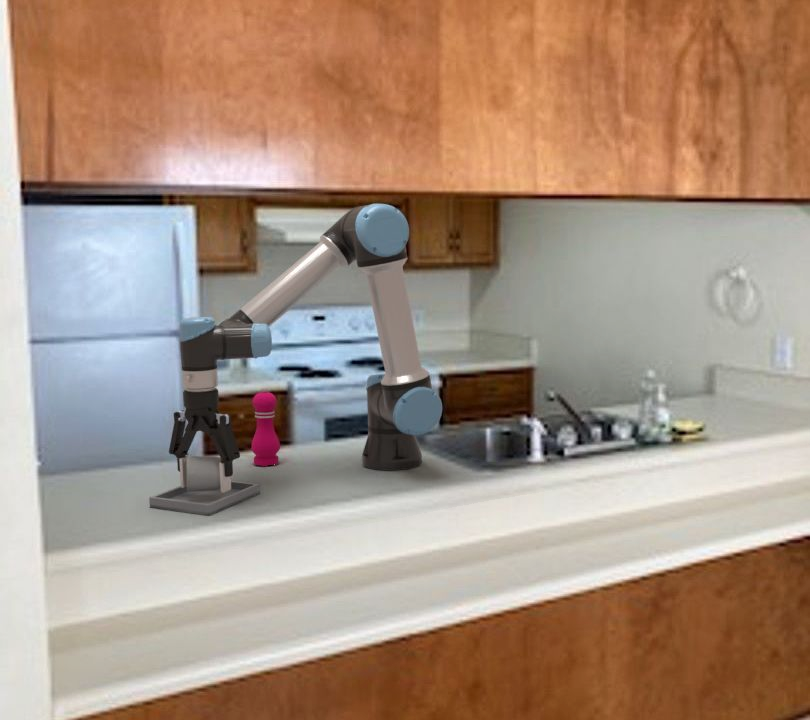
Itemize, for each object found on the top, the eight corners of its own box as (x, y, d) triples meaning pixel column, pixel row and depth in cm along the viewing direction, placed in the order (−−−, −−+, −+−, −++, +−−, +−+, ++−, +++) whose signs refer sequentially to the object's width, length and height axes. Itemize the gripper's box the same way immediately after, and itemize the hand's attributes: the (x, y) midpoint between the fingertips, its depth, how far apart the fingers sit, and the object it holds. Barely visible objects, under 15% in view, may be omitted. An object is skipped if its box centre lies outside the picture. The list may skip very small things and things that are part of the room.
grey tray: (260, 493, 206) (259, 484, 206) (209, 515, 190) (209, 505, 190) (203, 486, 213) (202, 477, 213) (149, 507, 197) (149, 497, 197)
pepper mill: (285, 464, 233) (283, 386, 231) (259, 468, 229) (257, 388, 227) (272, 459, 239) (270, 383, 237) (247, 463, 235) (244, 385, 233)
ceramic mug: (225, 492, 198) (224, 457, 197) (186, 495, 196) (185, 460, 196) (224, 481, 208) (223, 448, 208) (187, 484, 207) (186, 450, 206)
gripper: (147, 388, 200) (154, 487, 203) (232, 394, 190) (237, 498, 193) (170, 383, 207) (176, 479, 209) (254, 388, 197) (258, 489, 199)
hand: (205, 488), depth 201 cm, fingers closed on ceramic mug, 10 cm apart
